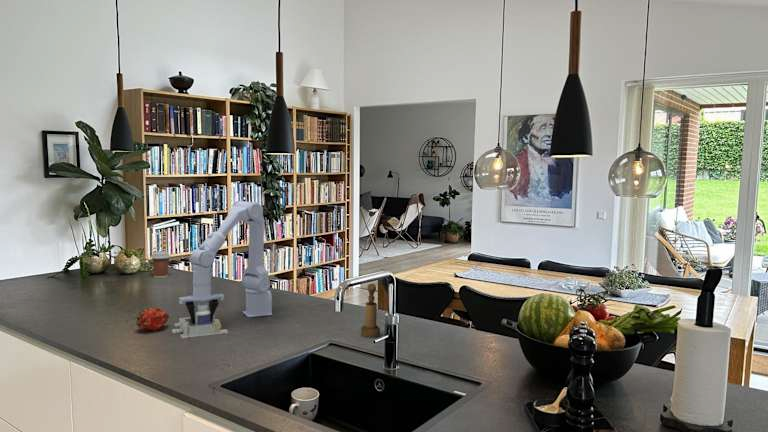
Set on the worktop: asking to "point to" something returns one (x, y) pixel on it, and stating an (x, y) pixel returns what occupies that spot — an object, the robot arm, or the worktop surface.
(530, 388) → the worktop surface
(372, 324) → the brown wooden tall piece
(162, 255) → the coffee cup
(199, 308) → the pill bottle
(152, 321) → the dragon fruit
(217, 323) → the socket
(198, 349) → the worktop surface
